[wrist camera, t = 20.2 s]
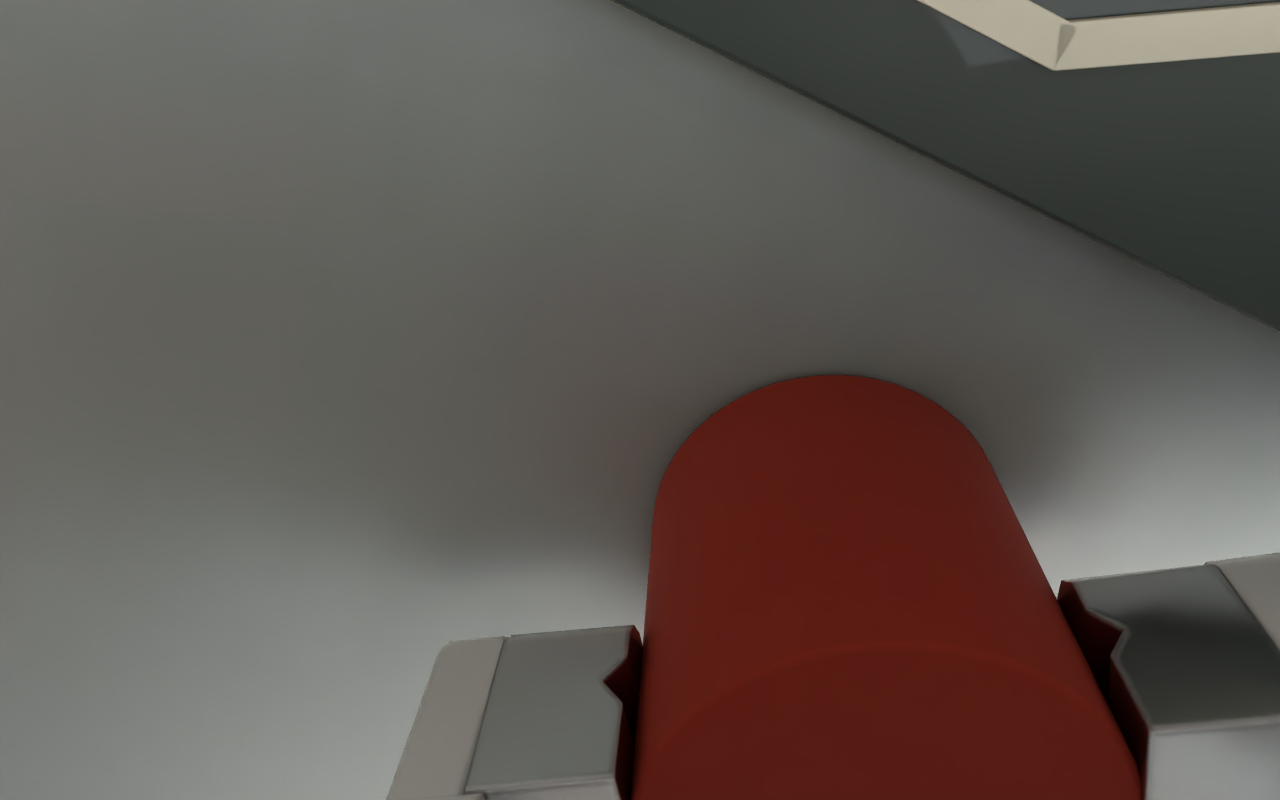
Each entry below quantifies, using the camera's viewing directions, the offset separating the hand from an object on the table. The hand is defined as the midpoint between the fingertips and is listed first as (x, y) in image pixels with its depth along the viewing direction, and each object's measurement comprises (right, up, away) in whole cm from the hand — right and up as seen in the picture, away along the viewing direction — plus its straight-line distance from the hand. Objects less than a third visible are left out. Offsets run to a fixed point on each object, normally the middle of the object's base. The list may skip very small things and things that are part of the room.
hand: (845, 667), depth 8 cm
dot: (0, +1, +2) cm, 2 cm away
